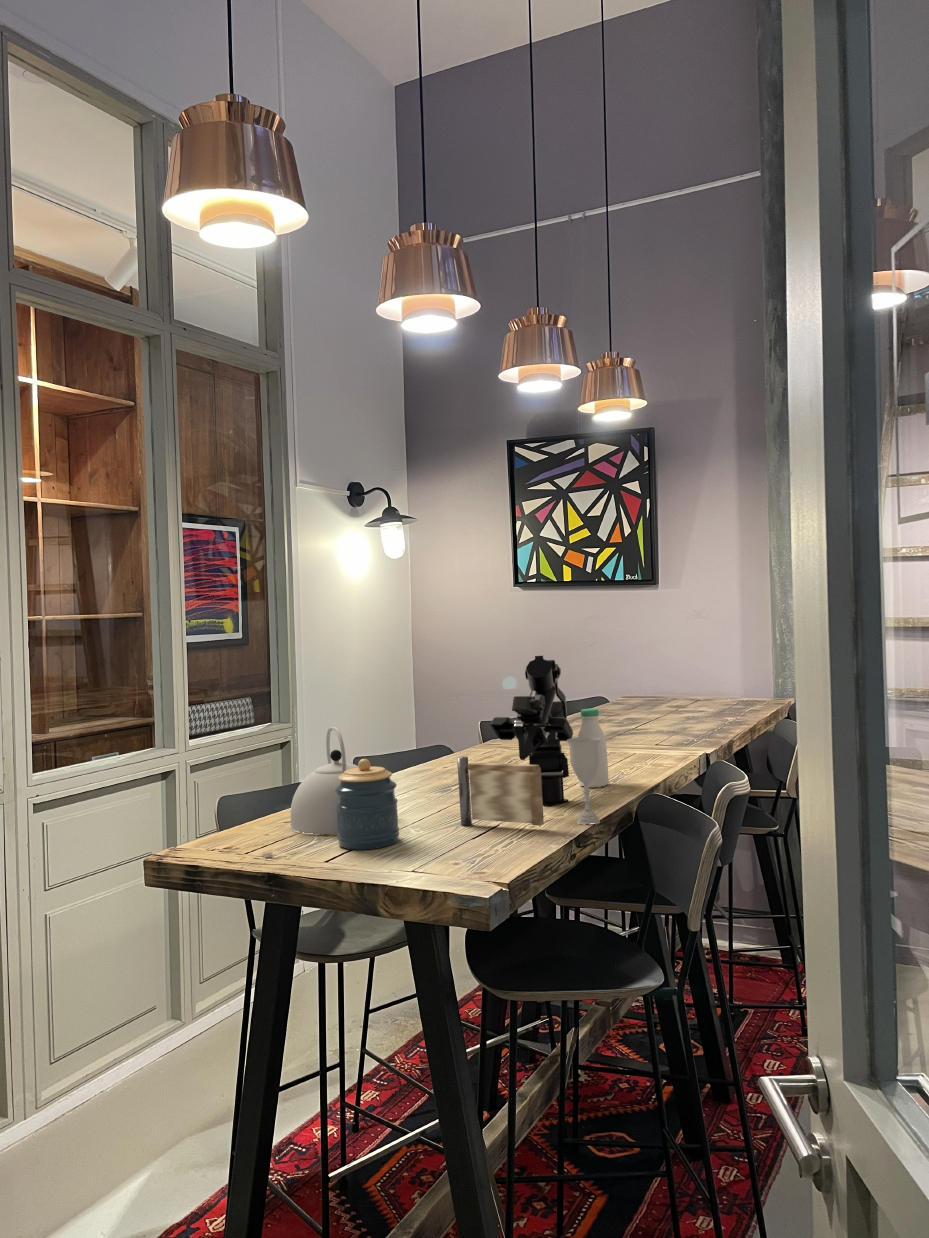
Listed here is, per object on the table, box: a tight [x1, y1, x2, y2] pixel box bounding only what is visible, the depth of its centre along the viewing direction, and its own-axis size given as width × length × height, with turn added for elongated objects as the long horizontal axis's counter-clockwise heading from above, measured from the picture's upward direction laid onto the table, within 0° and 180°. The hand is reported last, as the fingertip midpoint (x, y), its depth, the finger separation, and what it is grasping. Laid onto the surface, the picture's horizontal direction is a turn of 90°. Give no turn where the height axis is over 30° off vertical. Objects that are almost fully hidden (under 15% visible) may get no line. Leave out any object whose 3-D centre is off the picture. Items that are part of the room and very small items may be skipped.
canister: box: [335, 758, 400, 851], centre depth 192 cm, size 13×13×18 cm
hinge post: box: [456, 756, 473, 827], centre depth 202 cm, size 2×2×15 cm
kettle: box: [290, 725, 358, 835], centre depth 213 cm, size 25×23×23 cm
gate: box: [468, 762, 545, 827], centre depth 197 cm, size 17×2×12 cm, turn 60°
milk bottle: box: [577, 708, 610, 788], centre depth 238 cm, size 8×8×20 cm
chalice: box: [566, 737, 601, 825], centre depth 198 cm, size 7×7×18 cm
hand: (521, 758), depth 205 cm, fingers closed
